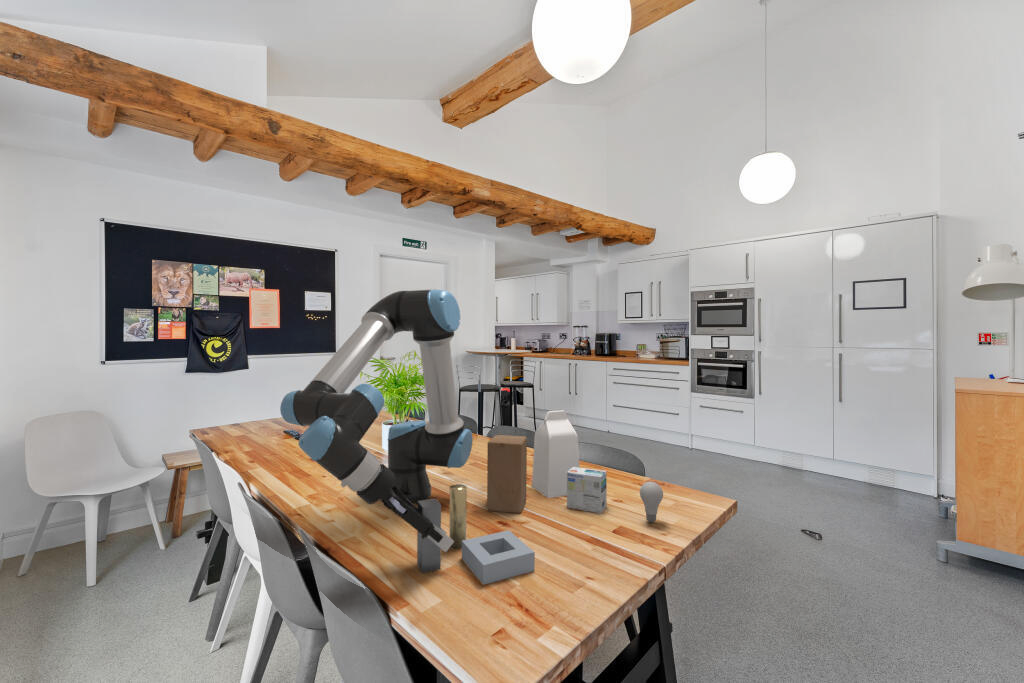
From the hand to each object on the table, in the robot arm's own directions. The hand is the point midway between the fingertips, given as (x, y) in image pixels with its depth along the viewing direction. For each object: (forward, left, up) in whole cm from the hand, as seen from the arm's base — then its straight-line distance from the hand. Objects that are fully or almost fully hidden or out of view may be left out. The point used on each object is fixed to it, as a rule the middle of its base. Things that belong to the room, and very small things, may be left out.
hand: (445, 541), depth 96 cm
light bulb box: (+9, +49, -5) cm, 50 cm away
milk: (-6, +56, -5) cm, 56 cm away
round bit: (-4, +8, -5) cm, 10 cm away
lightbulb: (+28, +50, -5) cm, 57 cm away
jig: (+9, +7, -5) cm, 12 cm away
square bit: (-2, -3, -5) cm, 6 cm away
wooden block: (-10, +35, -5) cm, 36 cm away
